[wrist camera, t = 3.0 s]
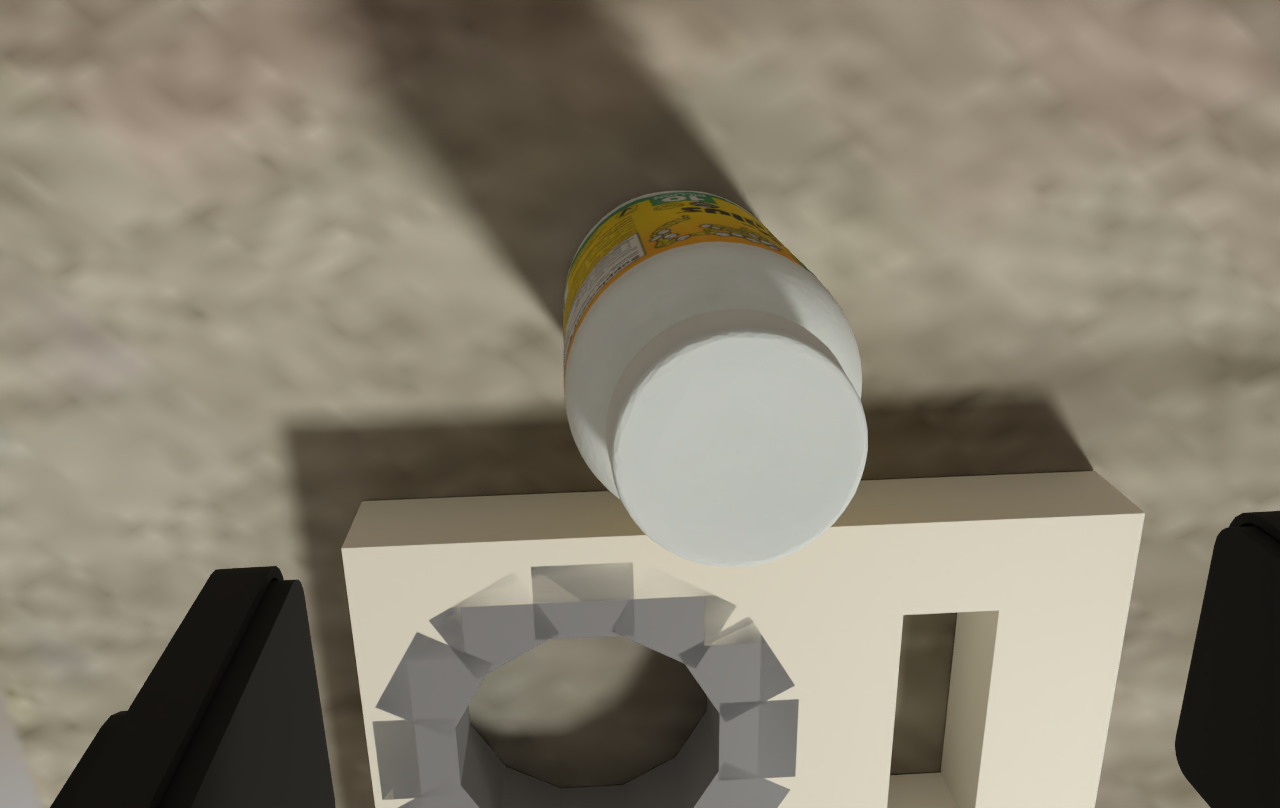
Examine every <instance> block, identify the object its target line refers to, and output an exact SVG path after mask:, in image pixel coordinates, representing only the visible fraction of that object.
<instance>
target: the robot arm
mask: <svg viewBox="0 0 1280 808" xmlns="http://www.w3.org/2000/svg"><path fill="white" fill-rule="evenodd" d="M1175 750H1176V757H1177V760H1178V764H1179V766H1180V769H1181V771H1182V773H1183V774H1184V776H1185V777H1186V779H1187V780H1188V781H1189V782H1190V784H1191V785H1192V786H1193V787H1194V788H1195V790H1196V791H1197V792H1198V793H1199V794H1200V795H1201V797H1202V798H1203V799H1204V800H1205V801H1206V802H1207V804H1208V805H1209V806H1210V807H1211V808H1280V511H1270V512H1252V513H1242V514H1240V515H1238V516H1237V517H1235V519H1234V520H1233V521H1232V523H1231V524H1230V526H1229V528H1225V529H1223V530H1222V531H1221V532H1220V533H1219V535H1218V536H1217V539H1216V541H1215V545H1214V550H1213V555H1212V560H1211V565H1210V570H1209V575H1208V580H1207V585H1206V590H1205V595H1204V600H1203V605H1202V610H1201V615H1200V620H1199V624H1198V629H1197V634H1196V639H1195V644H1194V649H1193V654H1192V659H1191V664H1190V669H1189V674H1188V679H1187V684H1186V689H1185V694H1184V699H1183V704H1182V709H1181V714H1180V719H1179V724H1178V729H1177V734H1176V740H1175ZM50 808H335V798H334V791H333V784H332V778H331V771H330V764H329V758H328V751H327V744H326V737H325V731H324V724H323V717H322V710H321V704H320V697H319V690H318V683H317V677H316V670H315V663H314V657H313V650H312V643H311V636H310V630H309V623H308V616H307V609H306V603H305V596H304V591H303V587H302V585H301V582H300V581H299V580H284V579H283V576H282V574H281V571H280V569H279V568H278V567H277V566H269V567H251V568H232V569H218V570H215V571H214V572H213V573H212V574H211V575H210V577H209V579H208V580H207V582H206V584H205V585H204V587H203V589H202V590H201V592H200V593H199V595H198V597H197V598H196V600H195V602H194V603H193V605H192V606H191V608H190V610H189V611H188V613H187V615H186V616H185V618H184V620H183V621H182V623H181V624H180V626H179V628H178V629H177V631H176V633H175V634H174V636H173V638H172V639H171V641H170V642H169V644H168V646H167V647H166V649H165V651H164V652H163V654H162V656H161V657H160V659H159V660H158V662H157V664H156V665H155V667H154V669H153V670H152V672H151V673H150V675H149V677H148V678H147V680H146V682H145V683H144V685H143V687H142V688H141V690H140V691H139V693H138V695H137V696H136V698H135V700H134V701H133V703H132V705H131V706H130V708H129V709H128V711H121V712H118V713H116V714H113V715H111V716H110V717H109V718H108V720H107V721H106V722H105V723H104V724H103V725H102V727H101V728H100V730H99V731H98V733H97V734H96V736H95V738H94V739H93V741H92V742H91V744H90V745H89V747H88V749H87V750H86V752H85V753H84V755H83V757H82V758H81V760H80V761H79V763H78V764H77V766H76V768H75V769H74V771H73V772H72V774H71V775H70V777H69V779H68V780H67V782H66V783H65V785H64V786H63V788H62V790H61V791H60V793H59V794H58V796H57V797H56V799H55V801H54V802H53V804H52V805H51V807H50Z"/></svg>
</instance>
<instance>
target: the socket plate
mask: <svg viewBox="0 0 1280 808" xmlns="http://www.w3.org/2000/svg"><path fill="white" fill-rule="evenodd" d="M1144 517H1145V513H1144V512H1143V511H1142V510H1141V509H1139V508H1138V507H1137V506H1136V505H1135V504H1134V503H1132V502H1131V501H1130V500H1129V499H1128V498H1126V497H1125V496H1124V495H1123V494H1122V493H1121V492H1119V491H1118V490H1117V489H1116V488H1115V487H1113V486H1112V485H1111V484H1110V483H1109V482H1108V481H1106V480H1105V479H1104V478H1103V477H1102V476H1100V475H1099V474H1098V473H1097V472H1096V471H1082V472H1057V473H1033V474H1009V475H985V476H960V477H936V478H912V479H888V480H863V481H860V482H859V485H858V488H857V490H856V493H855V495H854V496H853V498H852V500H851V501H850V503H849V504H848V506H847V507H846V509H845V510H844V512H843V513H842V514H841V515H840V517H839V518H838V519H837V520H836V522H835V523H834V524H833V525H832V526H831V527H830V528H829V529H828V530H826V531H825V532H824V533H823V534H822V535H821V536H820V537H818V538H817V539H815V540H814V541H813V542H811V543H810V544H808V545H807V546H805V547H803V548H801V549H800V550H798V551H796V552H794V553H792V554H790V555H787V556H785V557H783V558H780V559H778V560H774V561H771V562H768V563H763V564H759V565H753V566H744V567H718V566H710V565H704V564H700V563H696V562H693V561H689V560H686V559H684V558H682V557H679V556H677V555H675V554H673V553H672V552H670V551H668V550H666V549H664V548H663V547H661V546H660V545H658V544H657V543H656V542H654V541H653V540H651V539H650V538H649V537H648V536H647V535H646V534H645V533H644V532H643V531H642V530H641V529H640V528H639V527H638V526H637V524H636V523H635V522H634V521H633V519H632V518H631V517H630V515H629V513H628V512H627V510H626V509H625V507H624V505H623V504H622V502H621V500H620V499H619V498H617V497H616V496H615V495H614V494H612V493H611V492H610V491H597V492H573V493H548V494H524V495H500V496H476V497H451V498H427V499H403V500H379V501H362V503H361V505H360V507H359V509H358V512H357V514H356V516H355V518H354V521H353V523H352V525H351V528H350V530H349V532H348V534H347V537H346V539H345V541H344V543H343V546H342V548H341V550H342V557H343V565H344V573H345V580H346V588H347V595H348V603H349V611H350V618H351V626H352V634H353V641H354V649H355V656H356V664H357V672H358V679H359V687H360V694H361V702H362V710H363V717H364V725H365V733H366V740H367V748H368V755H369V763H370V771H371V778H372V786H373V793H374V801H375V808H1095V802H1096V796H1097V790H1098V785H1099V779H1100V773H1101V767H1102V761H1103V755H1104V750H1105V744H1106V738H1107V732H1108V726H1109V720H1110V715H1111V709H1112V703H1113V697H1114V691H1115V686H1116V680H1117V674H1118V668H1119V662H1120V656H1121V651H1122V645H1123V639H1124V633H1125V627H1126V621H1127V616H1128V610H1129V604H1130V598H1131V592H1132V586H1133V581H1134V575H1135V569H1136V563H1137V557H1138V552H1139V546H1140V540H1141V534H1142V528H1143V522H1144ZM956 612H957V621H956V631H955V640H954V650H953V659H952V669H951V678H950V688H949V697H948V707H947V716H946V726H945V735H944V745H943V754H942V764H941V773H923V774H906V775H890V767H891V755H892V744H893V732H894V720H895V708H896V696H897V684H898V672H899V660H900V649H901V637H902V625H903V615H915V614H936V613H956ZM609 636H623V637H625V638H628V639H630V640H632V641H634V642H637V643H639V644H641V645H643V646H646V647H648V648H650V649H652V650H655V651H657V652H659V653H661V654H664V655H666V656H668V657H671V658H673V659H675V660H677V661H680V662H682V663H684V664H685V665H686V666H687V668H688V669H689V671H690V672H691V674H692V675H693V676H694V678H695V679H696V681H697V682H698V684H699V685H700V686H701V688H702V689H703V691H704V692H705V694H706V695H707V711H706V712H705V714H704V715H703V717H702V718H701V720H700V721H699V723H698V724H697V726H696V727H695V729H694V730H693V732H692V733H691V735H690V736H689V738H688V739H687V741H686V742H685V744H684V745H683V747H682V748H681V750H680V751H679V753H678V754H677V756H676V757H674V758H673V759H671V760H669V761H667V762H665V763H663V764H661V765H659V766H657V767H656V768H654V769H652V770H650V771H648V772H646V773H644V774H642V775H641V776H639V777H637V778H635V779H633V780H631V781H629V782H627V783H625V784H624V785H614V786H596V787H579V788H558V787H556V786H553V785H551V784H548V783H546V782H543V781H541V780H538V779H536V778H533V777H531V776H528V775H526V774H523V773H521V772H518V771H516V770H513V769H511V768H508V767H506V766H505V765H504V764H503V763H502V762H501V760H500V759H499V758H498V757H497V756H496V754H495V753H494V752H493V751H492V749H491V748H490V747H489V746H488V745H487V743H486V742H485V741H484V740H483V738H482V737H481V736H480V735H479V734H478V732H477V731H476V730H475V729H474V727H473V726H472V725H471V724H470V719H469V708H468V705H469V704H470V702H471V700H472V698H473V697H474V695H475V693H476V692H477V690H478V688H479V686H480V685H481V683H482V681H483V680H484V678H485V676H486V675H487V673H489V672H491V671H493V670H495V669H496V668H498V667H500V666H502V665H503V664H505V663H507V662H509V661H511V660H512V659H514V658H516V657H518V656H520V655H521V654H523V653H525V652H527V651H529V650H530V649H532V648H534V647H536V646H538V645H539V644H541V643H543V642H545V641H546V640H548V639H568V638H588V637H609Z"/></svg>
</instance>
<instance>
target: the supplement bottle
mask: <svg viewBox="0 0 1280 808" xmlns="http://www.w3.org/2000/svg"><path fill="white" fill-rule="evenodd" d="M563 331H564V332H563V336H564V395H565V406H566V412H567V417H568V421H569V426H570V430H571V433H572V435H573V438H574V441H575V443H576V445H577V447H578V450H579V452H580V454H581V456H582V457H583V459H584V461H585V462H586V464H587V465H588V467H589V468H590V470H591V471H592V472H593V474H594V475H595V476H596V477H597V479H598V480H599V481H600V482H601V483H602V484H603V485H604V486H605V487H606V488H607V489H608V490H609V491H610V492H611V493H612V494H614V495H615V496H616V497H617V498H619V499H620V500H621V502H622V504H623V505H624V507H625V509H626V510H627V512H628V513H629V515H630V517H631V518H632V519H633V521H634V522H635V523H636V524H637V526H638V527H639V528H640V529H641V530H642V531H643V532H644V533H645V534H646V535H647V536H648V537H649V538H650V539H651V540H653V541H654V542H656V543H657V544H658V545H660V546H661V547H663V548H664V549H666V550H668V551H670V552H672V553H673V554H675V555H677V556H679V557H682V558H684V559H686V560H689V561H693V562H696V563H700V564H704V565H710V566H718V567H744V566H753V565H759V564H763V563H768V562H771V561H774V560H778V559H780V558H783V557H785V556H787V555H790V554H792V553H794V552H796V551H798V550H800V549H801V548H803V547H805V546H807V545H808V544H810V543H811V542H813V541H814V540H815V539H817V538H818V537H820V536H821V535H822V534H823V533H824V532H825V531H826V530H828V529H829V528H830V527H831V526H832V525H833V524H834V523H835V522H836V520H837V519H838V518H839V517H840V515H841V514H842V513H843V512H844V510H845V509H846V507H847V506H848V504H849V503H850V501H851V500H852V498H853V496H854V495H855V493H856V490H857V488H858V485H859V482H860V480H861V477H862V474H863V470H864V467H865V463H866V458H867V452H868V429H867V424H866V418H865V413H864V410H863V407H862V403H861V391H862V372H861V362H860V356H859V351H858V347H857V343H856V340H855V337H854V334H853V331H852V329H851V326H850V324H849V322H848V320H847V318H846V316H845V315H844V313H843V311H842V309H841V308H840V306H839V305H838V303H837V302H836V301H835V299H834V298H833V296H832V295H831V294H830V292H829V291H828V290H827V289H826V288H825V287H824V286H823V285H822V283H821V282H820V281H819V280H818V278H817V277H816V276H815V275H814V274H813V273H812V272H811V271H809V270H808V269H807V268H806V267H805V266H804V265H803V264H802V263H801V262H800V261H799V260H798V259H797V258H796V257H795V256H794V255H793V254H792V253H791V252H790V251H789V250H788V249H787V248H786V247H785V246H784V245H783V244H782V243H781V242H780V241H779V240H778V239H777V238H776V237H775V236H774V235H773V234H772V233H771V232H770V231H769V230H768V229H767V228H766V227H765V226H764V225H763V224H762V223H761V222H760V221H759V220H757V219H756V218H755V217H754V216H753V215H752V214H750V213H749V212H748V211H746V210H745V209H743V208H742V207H740V206H739V205H737V204H735V203H734V202H732V201H729V200H727V199H725V198H723V197H720V196H717V195H714V194H710V193H706V192H698V191H662V192H655V193H650V194H645V195H642V196H639V197H636V198H634V199H631V200H629V201H627V202H625V203H623V204H621V205H620V206H618V207H616V208H615V209H613V210H612V211H611V212H609V213H608V214H607V215H605V216H604V217H603V218H602V219H601V220H600V221H599V222H598V223H597V224H596V225H595V226H594V227H593V228H592V229H591V230H590V232H589V233H588V234H587V236H586V237H585V238H584V240H583V241H582V243H581V244H580V246H579V248H578V250H577V252H576V254H575V256H574V258H573V261H572V263H571V266H570V269H569V271H568V276H567V280H566V285H565V291H564V303H563Z"/></svg>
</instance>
